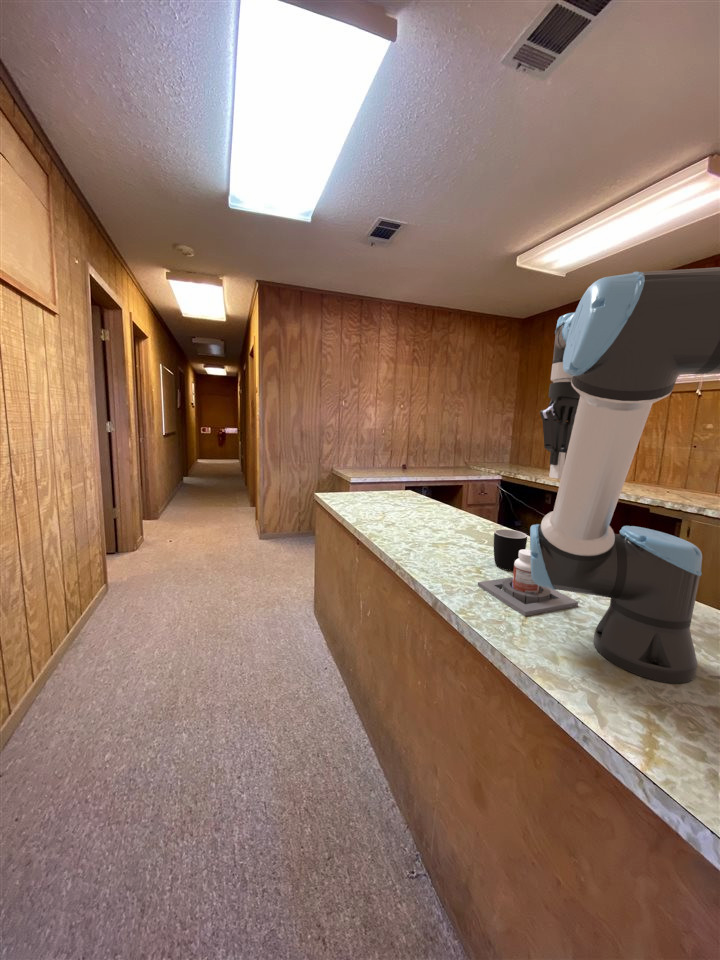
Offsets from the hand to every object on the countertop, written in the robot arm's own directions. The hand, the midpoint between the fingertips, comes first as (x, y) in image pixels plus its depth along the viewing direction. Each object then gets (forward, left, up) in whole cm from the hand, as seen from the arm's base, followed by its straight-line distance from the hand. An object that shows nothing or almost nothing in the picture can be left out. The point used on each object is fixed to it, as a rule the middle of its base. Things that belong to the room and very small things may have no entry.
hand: (555, 477), depth 96 cm
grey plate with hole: (-4, +10, -28) cm, 30 cm away
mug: (+14, 0, -29) cm, 32 cm away
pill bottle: (-4, +10, -29) cm, 31 cm away
